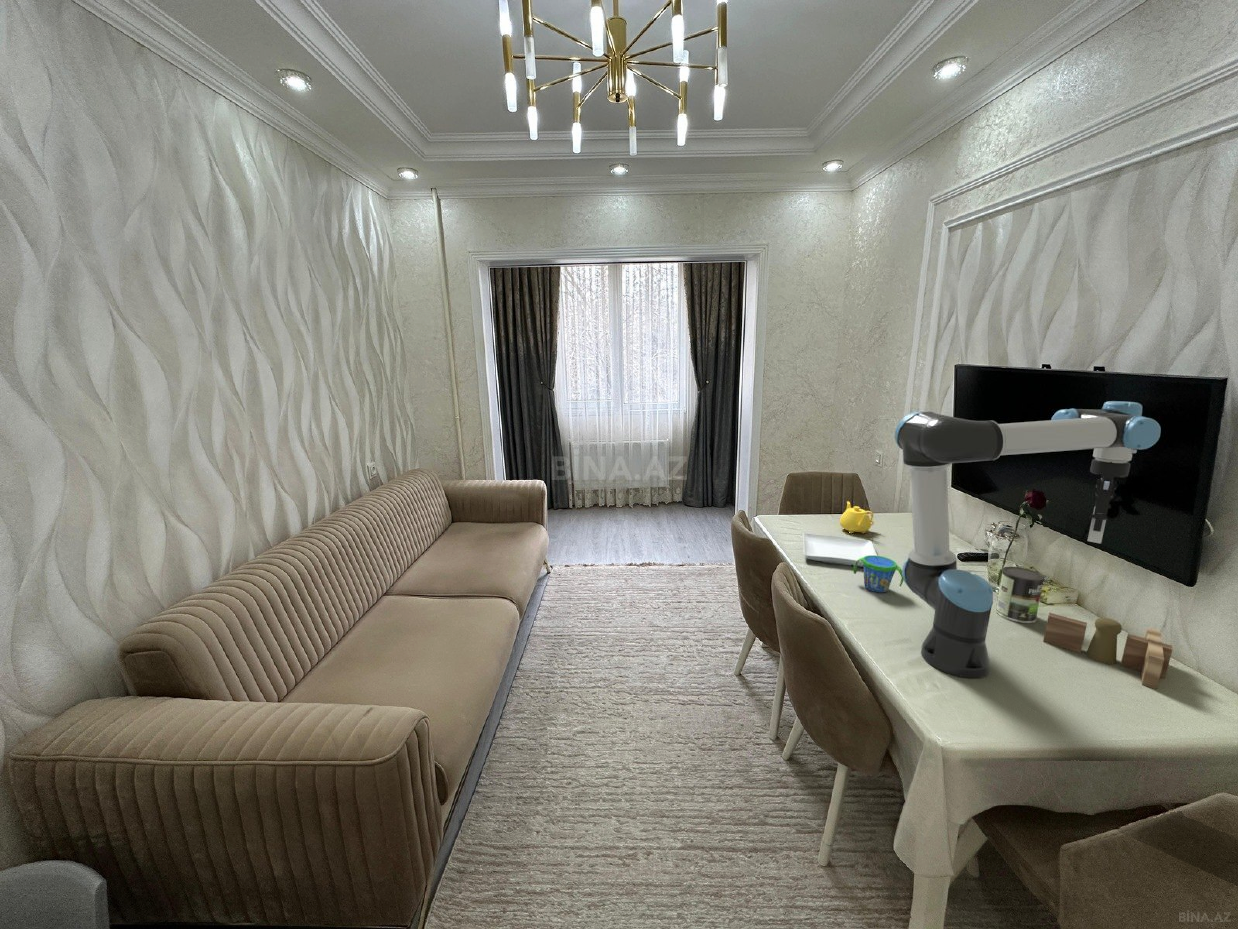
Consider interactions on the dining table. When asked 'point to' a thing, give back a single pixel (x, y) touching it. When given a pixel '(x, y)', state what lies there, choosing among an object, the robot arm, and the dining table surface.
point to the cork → (1104, 641)
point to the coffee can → (1019, 594)
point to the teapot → (856, 519)
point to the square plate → (836, 549)
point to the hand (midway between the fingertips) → (1095, 535)
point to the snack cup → (878, 572)
